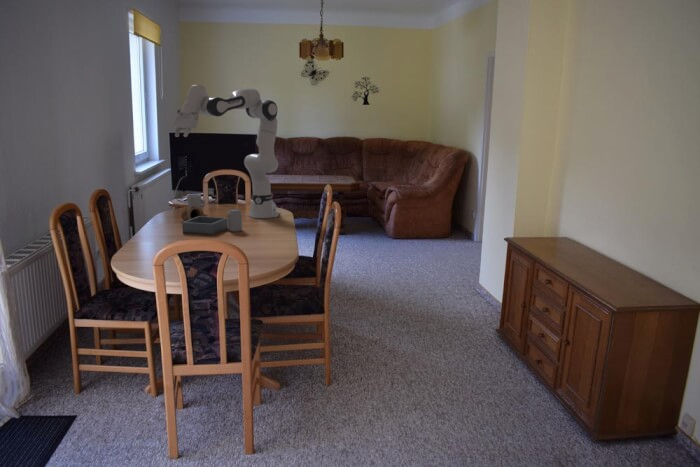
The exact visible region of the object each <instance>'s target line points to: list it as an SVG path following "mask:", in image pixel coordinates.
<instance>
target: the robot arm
mask: <svg viewBox="0 0 700 467" xmlns="http://www.w3.org/2000/svg"><path fill="white" fill-rule="evenodd" d="M232 110H245V112H246V114H247V116H248V117H250V118H252V119H259V122H260V124H259V127H258V131H257V135H256V136H257V137H256V141H255V143H256V146H257V147H258V152H259V153H250V154H248V155H246V156H245V157H244V160H243V164H244V167H245V168H246V170H247V171H248V173H249V176H250V179H251V183H252V184H251V186H252V196H251V200H252V201H251V202H250V206H249V208H250V209H249V211H250V213H248V214H247V215H248V217H250V218H253V219H270V218H277V217H279V215H280V214H281V211H279V210H277V204H276V203H275V202H274V201H273V197H274V194H273V193H272V191H271V180H270V179H269V178H268V176H267V174H271V173H274V172H276V171H277V170H278V167H279V162H278V159H277V157H276V155H275V143H276V136H277V132H278V119H277V115H278V105H277V103H276V102H275V101H273V100H270V99H268V100H267V99H261V94H260V92H259V90H257V89H255V88H241V89H237V90H235V91H232V92H231V93H230V96H229V97H228V98H222V97H210V96H209V94H208V92H207V88H206V87H205V86H203V85H199V84H193V85H191V86H190V88H189V89H188V92H187V93H186V96H185V101H184V102H183V105H182V106H181V107H180V108H179V109H177V110H176V116H175V118H174V120H173V123H172V127H173V129H175V134H174V136H175V138H176V137H177V138H179V137H180V132H181V130H182V131H184V132H183V135H182V136H183V137H184V138H187V137H189V136H188V135H189V134H190V132H191V131H192V130H196V129H197V127H198V124H199V114H200V115H202V116H207V117H208V116H209V117H210V116H211V117H222V116H223V115H225V114H226V113H227V112H229V111H232Z"/></svg>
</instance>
